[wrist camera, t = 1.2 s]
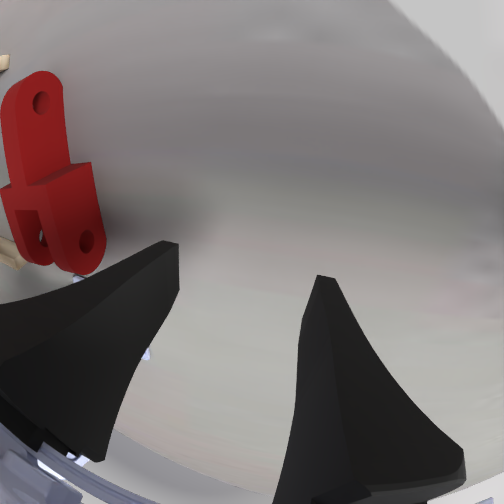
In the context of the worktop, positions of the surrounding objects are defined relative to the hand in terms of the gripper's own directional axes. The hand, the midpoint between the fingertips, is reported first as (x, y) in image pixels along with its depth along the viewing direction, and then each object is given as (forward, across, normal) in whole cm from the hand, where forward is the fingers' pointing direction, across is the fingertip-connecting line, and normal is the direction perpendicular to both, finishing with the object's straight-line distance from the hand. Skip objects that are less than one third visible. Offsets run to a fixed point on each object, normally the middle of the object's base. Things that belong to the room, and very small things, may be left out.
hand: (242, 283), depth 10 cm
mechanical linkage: (+9, +17, 0) cm, 19 cm away
